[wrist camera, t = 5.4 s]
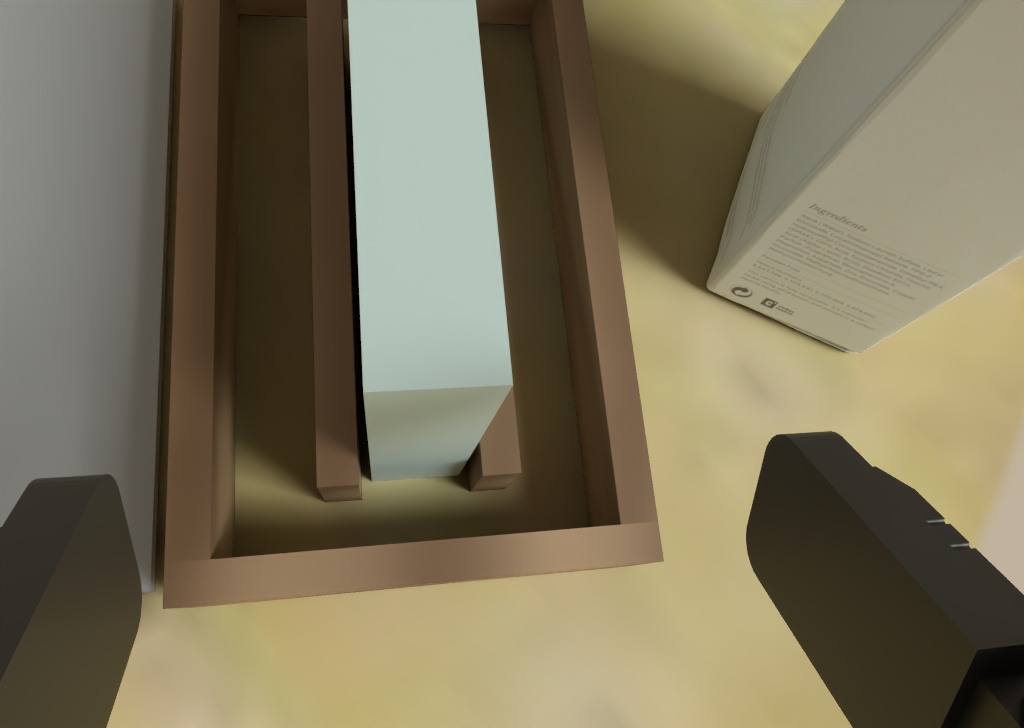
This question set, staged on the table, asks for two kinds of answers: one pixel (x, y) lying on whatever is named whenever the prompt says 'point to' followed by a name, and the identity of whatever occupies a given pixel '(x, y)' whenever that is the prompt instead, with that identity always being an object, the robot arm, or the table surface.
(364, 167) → the cover plate
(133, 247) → the grey mat
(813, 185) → the skincare box
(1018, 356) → the table surface
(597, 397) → the walnut box
